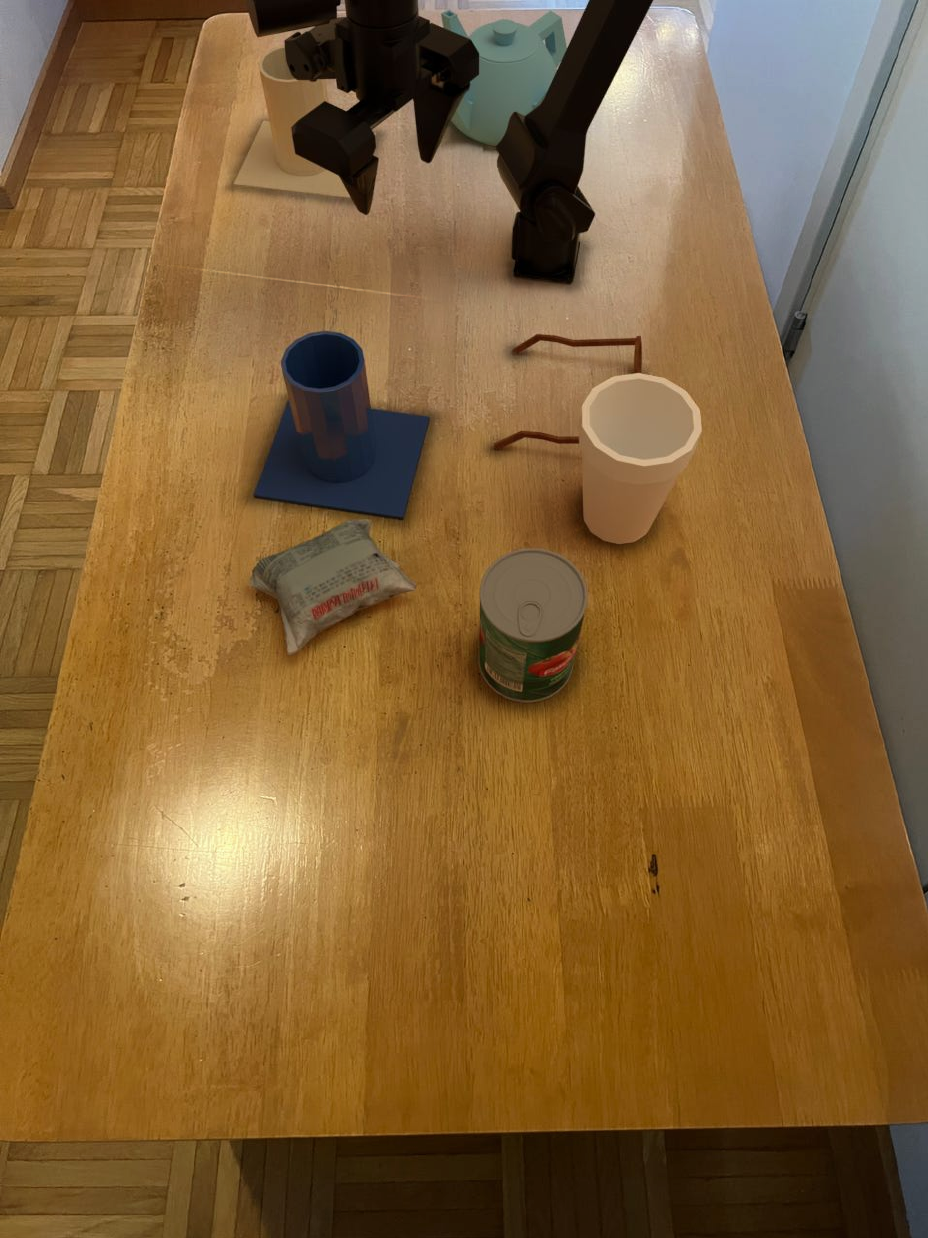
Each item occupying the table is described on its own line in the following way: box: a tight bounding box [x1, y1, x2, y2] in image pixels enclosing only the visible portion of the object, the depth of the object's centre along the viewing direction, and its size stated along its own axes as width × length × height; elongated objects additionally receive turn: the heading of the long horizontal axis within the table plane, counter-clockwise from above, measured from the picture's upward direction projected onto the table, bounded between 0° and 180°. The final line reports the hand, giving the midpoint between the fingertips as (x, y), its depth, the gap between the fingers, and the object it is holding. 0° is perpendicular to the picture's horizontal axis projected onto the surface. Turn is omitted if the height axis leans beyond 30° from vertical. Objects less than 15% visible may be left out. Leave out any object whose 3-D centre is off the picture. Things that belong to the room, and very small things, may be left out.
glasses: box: [493, 333, 643, 451], centre depth 88 cm, size 13×13×5 cm
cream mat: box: [233, 120, 377, 199], centre depth 109 cm, size 14×12×1 cm
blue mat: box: [253, 398, 431, 520], centre depth 87 cm, size 14×12×1 cm
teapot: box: [440, 9, 568, 147], centre depth 108 cm, size 15×15×11 cm
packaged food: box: [249, 518, 417, 656], centre depth 78 cm, size 9×12×5 cm
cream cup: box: [258, 44, 330, 176], centre depth 104 cm, size 7×7×11 cm
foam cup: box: [578, 372, 703, 545], centre depth 78 cm, size 10×9×13 cm
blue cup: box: [280, 330, 376, 483], centre depth 82 cm, size 7×7×12 cm
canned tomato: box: [477, 547, 589, 704], centre depth 72 cm, size 8×8×11 cm
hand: (395, 186), depth 86 cm, fingers open, 9 cm apart
